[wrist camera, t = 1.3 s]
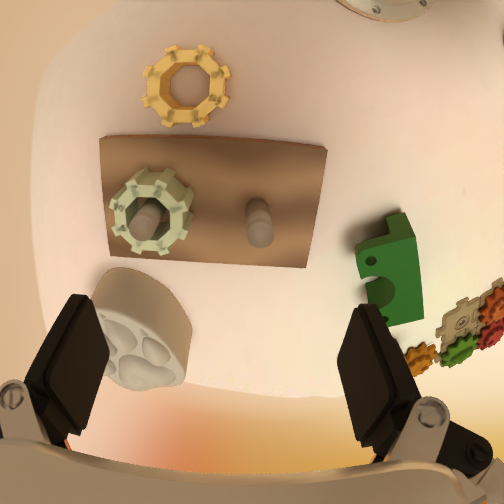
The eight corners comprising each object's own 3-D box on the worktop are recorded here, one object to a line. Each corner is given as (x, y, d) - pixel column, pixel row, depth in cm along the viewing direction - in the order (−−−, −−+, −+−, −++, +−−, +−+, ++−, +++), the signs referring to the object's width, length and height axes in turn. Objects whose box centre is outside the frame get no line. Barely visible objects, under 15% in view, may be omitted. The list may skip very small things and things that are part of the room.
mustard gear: (156, 50, 22) (144, 46, 18) (234, 50, 22) (233, 45, 19) (152, 122, 25) (140, 128, 22) (227, 124, 25) (225, 129, 22)
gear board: (105, 136, 25) (69, 153, 19) (323, 146, 27) (347, 166, 21) (115, 248, 31) (90, 287, 25) (303, 260, 33) (316, 302, 27)
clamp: (351, 221, 35) (348, 233, 27) (398, 208, 33) (411, 217, 25) (373, 313, 37) (374, 349, 28) (417, 303, 34) (430, 336, 26)
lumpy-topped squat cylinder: (136, 353, 39) (122, 404, 32) (80, 281, 33) (50, 330, 26) (202, 337, 38) (196, 393, 30) (149, 254, 32) (125, 307, 24)
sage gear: (121, 166, 25) (106, 179, 22) (195, 168, 26) (188, 180, 23) (126, 234, 29) (114, 252, 26) (193, 237, 29) (188, 257, 26)
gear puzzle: (393, 386, 47) (400, 404, 44) (385, 331, 40) (395, 352, 36) (524, 315, 42) (535, 328, 38) (538, 250, 34) (552, 263, 31)
